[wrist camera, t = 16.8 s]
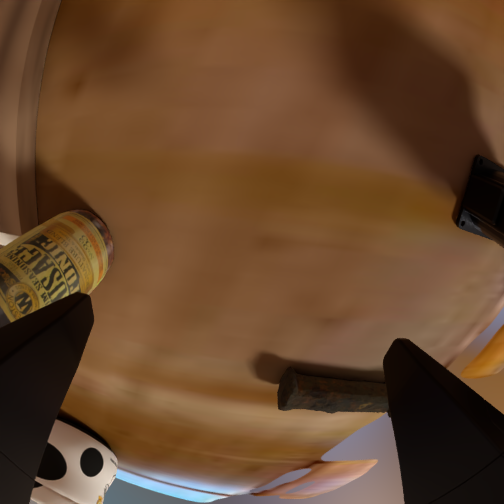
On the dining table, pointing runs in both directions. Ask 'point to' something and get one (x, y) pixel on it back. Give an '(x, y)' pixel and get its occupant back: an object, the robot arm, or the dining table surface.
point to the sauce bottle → (53, 263)
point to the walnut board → (21, 108)
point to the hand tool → (330, 394)
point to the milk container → (74, 467)
